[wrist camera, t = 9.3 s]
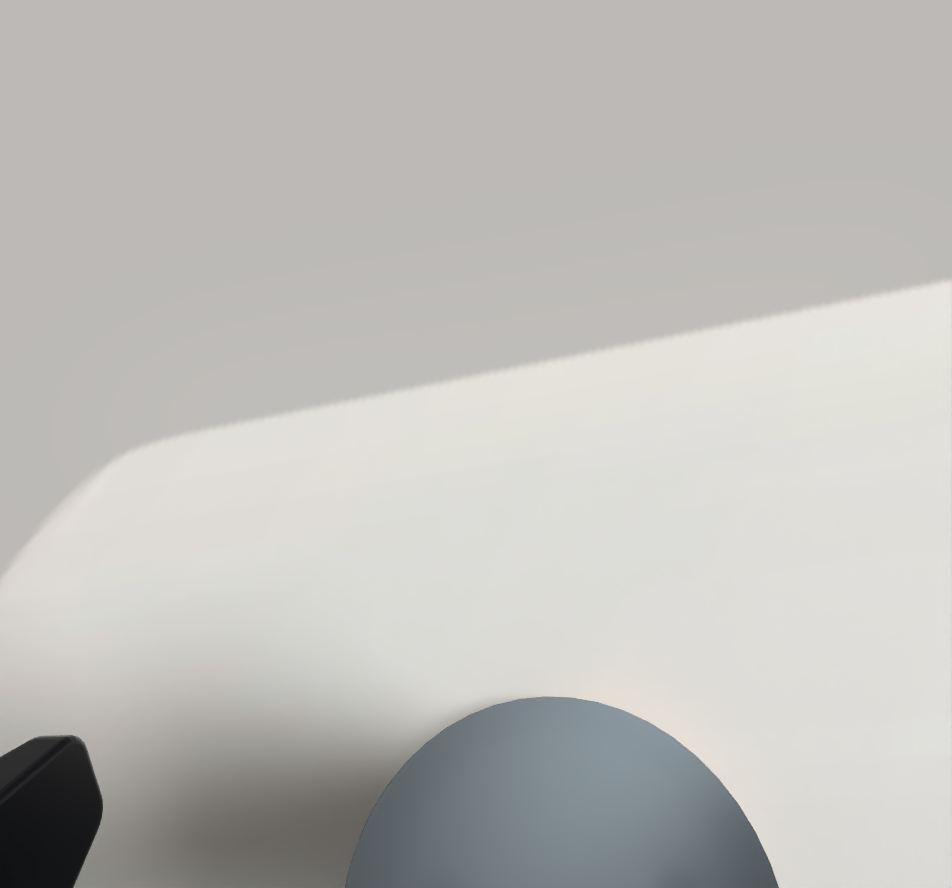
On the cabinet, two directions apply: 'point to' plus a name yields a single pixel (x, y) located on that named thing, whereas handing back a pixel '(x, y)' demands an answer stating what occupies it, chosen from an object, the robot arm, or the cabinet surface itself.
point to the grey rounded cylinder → (557, 808)
